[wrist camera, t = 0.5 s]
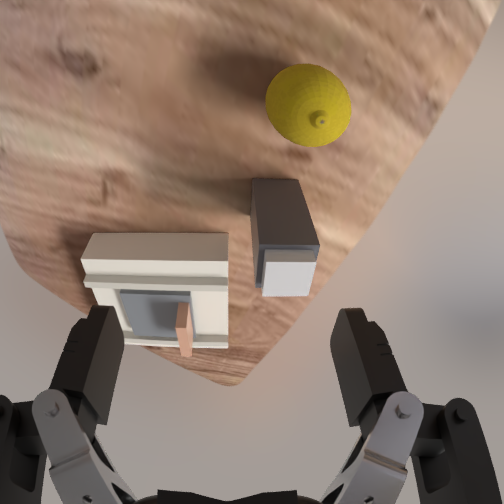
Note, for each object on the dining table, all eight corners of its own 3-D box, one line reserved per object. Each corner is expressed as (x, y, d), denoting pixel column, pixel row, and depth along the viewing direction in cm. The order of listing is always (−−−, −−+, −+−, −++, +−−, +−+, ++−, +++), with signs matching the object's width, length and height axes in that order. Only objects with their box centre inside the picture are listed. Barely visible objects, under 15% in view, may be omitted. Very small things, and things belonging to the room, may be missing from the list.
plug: (252, 178, 28) (260, 256, 20) (298, 179, 28) (323, 257, 20) (250, 216, 30) (256, 300, 22) (292, 217, 30) (312, 299, 23)
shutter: (120, 288, 30) (112, 317, 27) (190, 290, 30) (187, 321, 27) (135, 330, 34) (130, 357, 31) (196, 333, 35) (194, 361, 32)
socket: (93, 232, 30) (77, 266, 27) (228, 233, 31) (227, 269, 27) (122, 318, 39) (114, 349, 36) (228, 321, 40) (228, 355, 37)
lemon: (283, 134, 25) (300, 181, 19) (247, 78, 22) (252, 104, 16) (342, 104, 23) (381, 141, 17) (311, 45, 20) (344, 58, 14)
